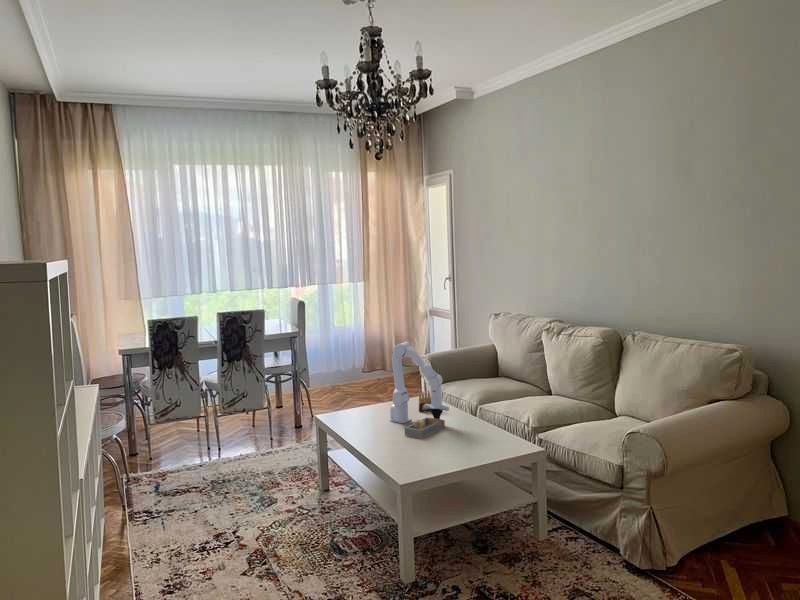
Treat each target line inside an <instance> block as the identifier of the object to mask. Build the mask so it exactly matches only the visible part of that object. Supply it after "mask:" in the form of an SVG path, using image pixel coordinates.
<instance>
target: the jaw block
mask: <svg viewBox="0 0 800 600" xmlns="http://www.w3.org/2000/svg"><path fill="white" fill-rule="evenodd" d="M413 424H414V429H419V430H422V429H424V428H425V421H424V420H422V419H416V420H415V421H414V422H413Z"/></svg>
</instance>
